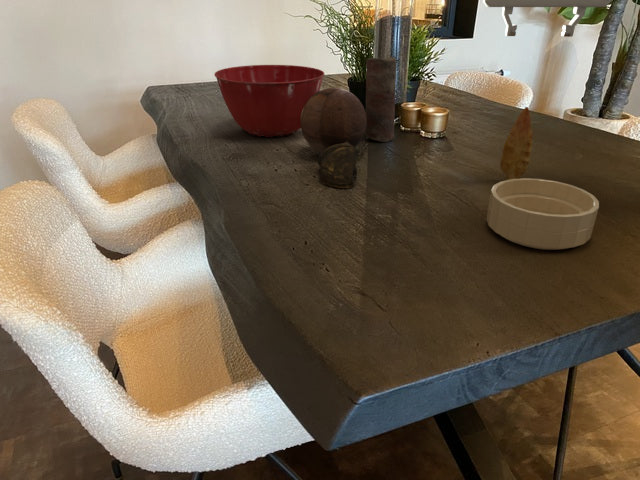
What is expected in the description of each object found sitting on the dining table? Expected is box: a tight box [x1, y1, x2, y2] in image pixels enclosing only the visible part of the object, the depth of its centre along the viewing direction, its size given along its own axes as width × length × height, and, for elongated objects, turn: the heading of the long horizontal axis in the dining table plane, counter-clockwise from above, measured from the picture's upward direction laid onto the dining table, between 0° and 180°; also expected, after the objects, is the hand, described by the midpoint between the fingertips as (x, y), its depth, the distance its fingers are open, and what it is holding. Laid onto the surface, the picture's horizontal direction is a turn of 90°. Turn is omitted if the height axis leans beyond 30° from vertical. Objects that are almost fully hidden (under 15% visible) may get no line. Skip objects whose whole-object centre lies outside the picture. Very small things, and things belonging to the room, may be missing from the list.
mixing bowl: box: [214, 64, 326, 138], centre depth 130 cm, size 28×28×15 cm
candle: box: [364, 56, 397, 143], centre depth 121 cm, size 8×7×20 cm
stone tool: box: [499, 106, 534, 180], centre depth 95 cm, size 5×2×15 cm, turn 80°
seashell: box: [317, 141, 360, 189], centre depth 101 cm, size 16×9×7 cm, turn 179°
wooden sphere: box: [300, 87, 366, 154], centre depth 111 cm, size 15×15×15 cm
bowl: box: [486, 177, 600, 251], centre depth 77 cm, size 15×15×6 cm
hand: (538, 36), depth 85 cm, fingers open, 8 cm apart
